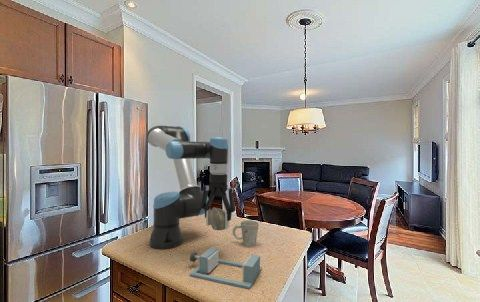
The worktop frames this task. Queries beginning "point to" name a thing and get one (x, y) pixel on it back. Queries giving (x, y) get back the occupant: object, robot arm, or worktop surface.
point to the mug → (248, 232)
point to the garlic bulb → (217, 219)
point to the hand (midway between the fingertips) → (217, 226)
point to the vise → (249, 268)
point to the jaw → (206, 260)
